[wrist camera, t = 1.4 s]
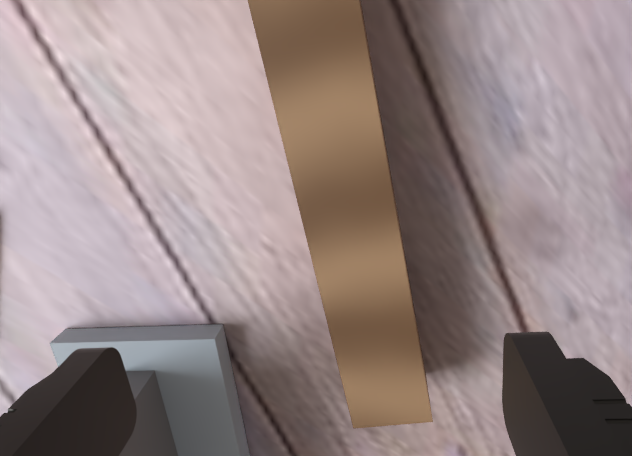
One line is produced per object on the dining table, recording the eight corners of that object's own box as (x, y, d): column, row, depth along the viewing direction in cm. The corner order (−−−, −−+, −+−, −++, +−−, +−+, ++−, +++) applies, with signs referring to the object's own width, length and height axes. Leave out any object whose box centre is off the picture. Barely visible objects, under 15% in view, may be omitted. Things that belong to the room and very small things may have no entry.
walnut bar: (248, -84, 20) (219, -114, 16) (341, -113, 19) (332, -150, 15) (356, 377, 28) (353, 428, 24) (424, 370, 27) (432, 421, 23)
